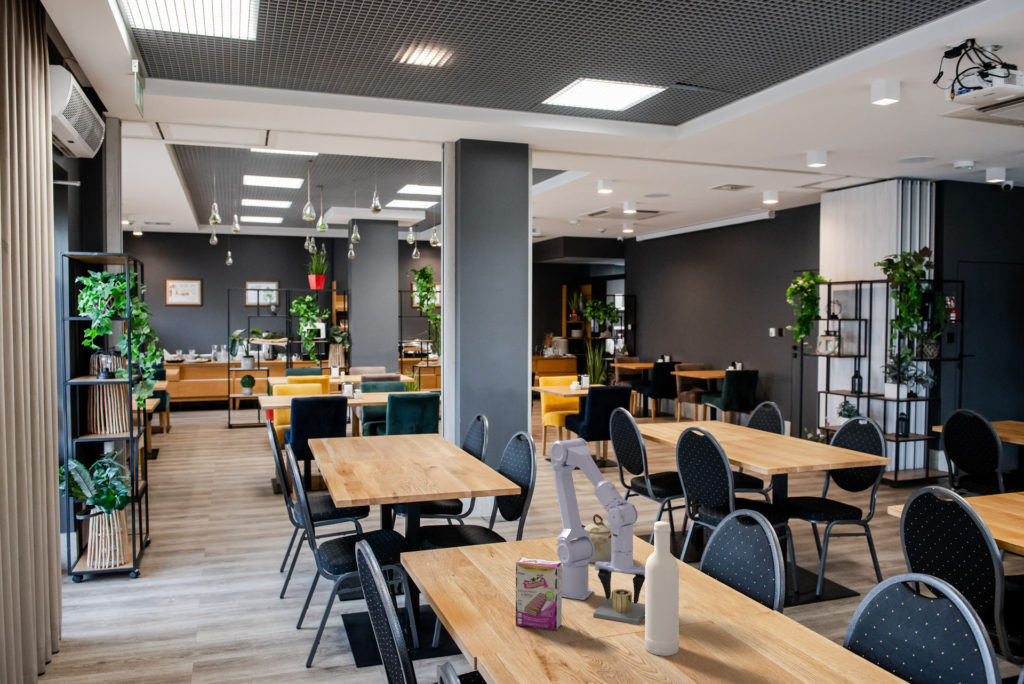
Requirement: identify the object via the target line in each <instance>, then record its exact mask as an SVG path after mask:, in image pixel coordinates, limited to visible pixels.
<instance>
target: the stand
mask: <svg viewBox="0 0 1024 684" xmlns="http://www.w3.org/2000/svg"><path fill="white" fill-rule="evenodd" d="M620 595H624V592H620ZM592 614H593V615H592V616H593V618H598V619H604V620H608V621H615V622H620V623H621V622H622V623H627V624H633V625H639V624H640V623H641V622H642V619H644V618H645V603H640V602H637V603H634V601H632V611H630V612H628V613H619V612H615V611H613V610H612V598H609V599H606V598H605V600H604V601H603V602H602V603H601V604H600V606H599V607H597V609H596V610H595V611H594V612H593V613H592Z"/></svg>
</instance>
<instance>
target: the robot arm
mask: <svg viewBox="0 0 1024 684" xmlns="http://www.w3.org/2000/svg"><path fill="white" fill-rule="evenodd" d="M548 451H549V455H550V456H549V457H550V461H551V469H552V471H551V472H552V476H553V481H554V488H555V493H556V499H557V503H558V504H557V505H558V508H559V509H558V510H559V514H560V519H561V526H562V531H561V533H560V534H559V535H558V537H557V538H556V541H557V548H556V549H557V550H556V553H557V555H556V556H557V557H558V560H557V562H562V598H569V599H574V600H575V599H576V600H581V601H585V600H586V599H588V597H590V595H591V594H592V593H593V592H594V589H592V588H589V563H591V562H590V558H592V557H593V555H594V545H593V543H592V541H591V539H590V535H589V532H588V531H586V530H585V529H583V528H582V526H581V524H582V521H581V516H580V511H579V505H578V499H577V495H576V490H575V485H574V484H575V483H574V479H573V472H574V470H575V468H576V467H577V468H579V469H580V471H581V472H582V473H583V474H584V475H585V477H586V478H587V479H588V481H589V482H590V483H591V484H592V486H594V495H595V497H596V498H597V500H598V501H599V502H600V504H601V506H602V507H603V509H604V510H605V511H606V513H607V514H606V515H605V516H606V520H607V523H608V525H609V526H610V531H611V562H599V561H597V562H596V563H594V570H595V571H598V572H597V578H598V579H599V581H600V583H601V585H602V587H603V590H604V594H605V600H606V599H611V598H612V589H611V587H612V586H611V584H612V583H611V582H612V581H611V580H612V573H617V574H618V573H619V574H625V575H632V576H633V578H632V582H633V584H632V585H633V602H634V603H639V599H640V594H641V590H642V587H643V585H644V583H645V566H641V565H636V564H634V524H635V523H637V520H638V517H639V515H638V514H639V513H638V510H637V508H636V506H635V504H633V502H630V501H628V500H627V499H624V497H623V496H622V494H621V493H620V492H619V490H618V488H617V486H616V485H615V483H614V482H612V481H610V480H606V479H605V477H604V475H603V474H602V472H601V471H600V469H599V467H598V465H597V464H596V463H595V460H594V459H593V457H592V455H591V451H592V450H591V447H590V446H589V445H588V443H587V441H586V440H585V439H584V438H582V437H579V438H578V437H577V438H574V439H566V440H556V441H554V442H553V444H552V445H551V447H550V448H549V450H548ZM576 538H577V539H576Z"/></svg>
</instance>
